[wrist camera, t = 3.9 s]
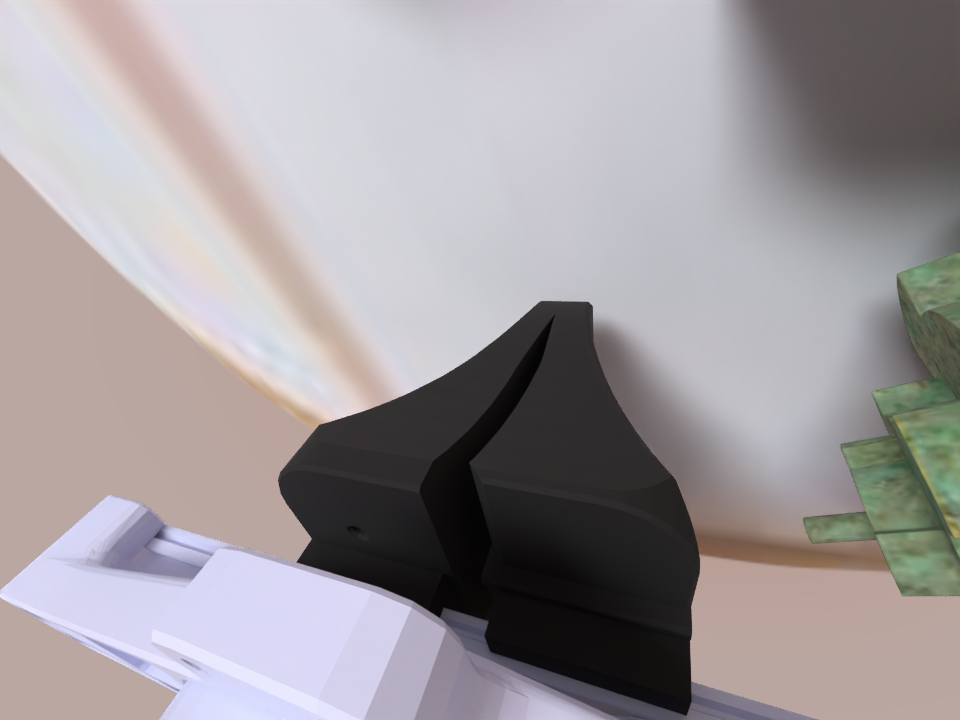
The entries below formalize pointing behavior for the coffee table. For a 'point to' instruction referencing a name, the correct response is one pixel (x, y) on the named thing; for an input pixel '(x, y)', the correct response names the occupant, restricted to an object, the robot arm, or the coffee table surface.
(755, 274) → the coffee table surface
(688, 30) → the coffee table surface
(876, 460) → the decorative artifact
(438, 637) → the robot arm
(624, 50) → the coffee table surface
